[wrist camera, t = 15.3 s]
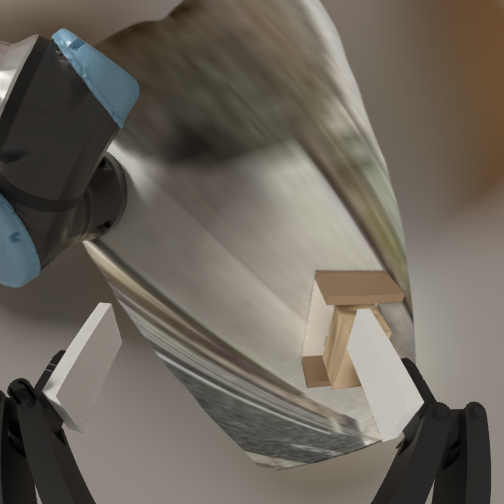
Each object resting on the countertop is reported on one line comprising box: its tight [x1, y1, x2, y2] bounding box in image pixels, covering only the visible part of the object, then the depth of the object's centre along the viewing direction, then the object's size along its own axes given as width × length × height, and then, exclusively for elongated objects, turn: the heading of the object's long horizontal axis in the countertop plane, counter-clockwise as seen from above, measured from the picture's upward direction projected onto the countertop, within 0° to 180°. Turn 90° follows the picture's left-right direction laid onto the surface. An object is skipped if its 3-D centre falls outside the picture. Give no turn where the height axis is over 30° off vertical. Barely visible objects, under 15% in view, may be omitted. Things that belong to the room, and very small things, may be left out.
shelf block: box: [322, 304, 392, 390], centre depth 42 cm, size 7×12×8 cm, turn 178°
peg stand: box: [301, 270, 405, 388], centre depth 46 cm, size 13×20×8 cm, turn 178°
